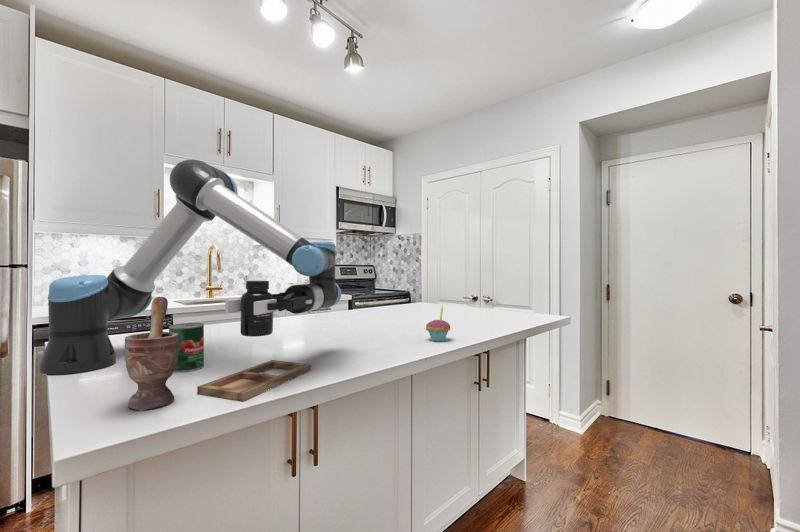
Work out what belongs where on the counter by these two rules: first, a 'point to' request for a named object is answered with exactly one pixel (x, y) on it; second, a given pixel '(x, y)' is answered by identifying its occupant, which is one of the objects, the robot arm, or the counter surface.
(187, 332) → the canned tomato
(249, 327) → the supplement bottle
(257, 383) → the divided wooden tray
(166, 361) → the mortar and pestle
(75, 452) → the counter surface
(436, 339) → the cupcake
